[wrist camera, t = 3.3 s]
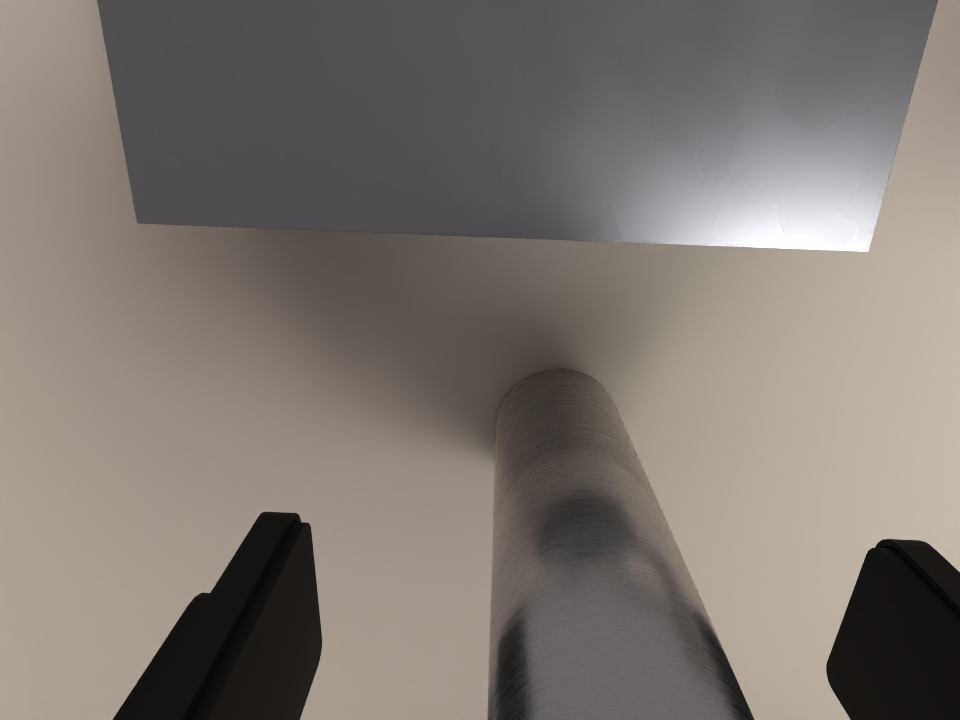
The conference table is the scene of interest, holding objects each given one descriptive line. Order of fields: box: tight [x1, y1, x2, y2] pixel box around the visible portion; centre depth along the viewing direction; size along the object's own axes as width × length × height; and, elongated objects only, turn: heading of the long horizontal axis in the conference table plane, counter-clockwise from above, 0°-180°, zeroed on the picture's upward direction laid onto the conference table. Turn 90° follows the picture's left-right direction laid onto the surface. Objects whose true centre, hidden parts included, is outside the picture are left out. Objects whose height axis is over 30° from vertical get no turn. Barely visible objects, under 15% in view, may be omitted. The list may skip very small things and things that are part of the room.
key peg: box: [488, 370, 754, 720], centre depth 10 cm, size 4×4×14 cm
